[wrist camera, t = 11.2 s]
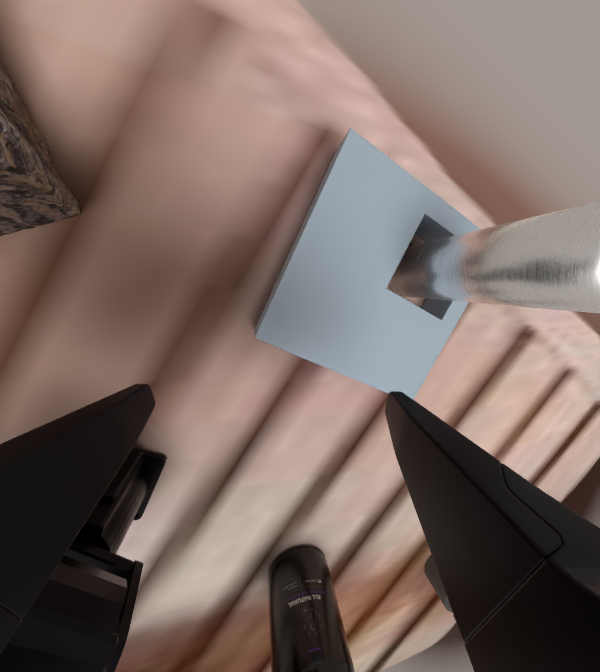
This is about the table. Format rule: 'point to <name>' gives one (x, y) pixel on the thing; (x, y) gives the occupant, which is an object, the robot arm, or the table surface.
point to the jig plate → (363, 275)
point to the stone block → (27, 170)
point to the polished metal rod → (512, 264)
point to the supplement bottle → (305, 616)
